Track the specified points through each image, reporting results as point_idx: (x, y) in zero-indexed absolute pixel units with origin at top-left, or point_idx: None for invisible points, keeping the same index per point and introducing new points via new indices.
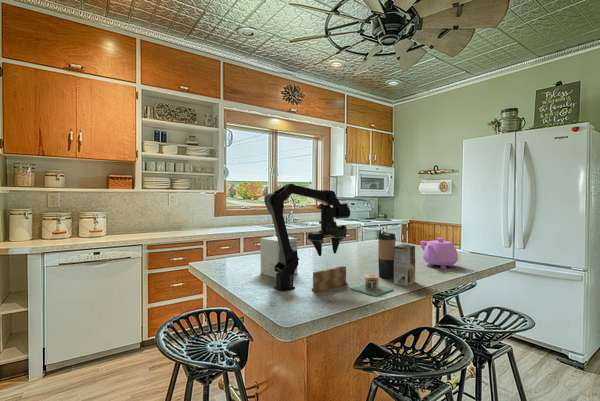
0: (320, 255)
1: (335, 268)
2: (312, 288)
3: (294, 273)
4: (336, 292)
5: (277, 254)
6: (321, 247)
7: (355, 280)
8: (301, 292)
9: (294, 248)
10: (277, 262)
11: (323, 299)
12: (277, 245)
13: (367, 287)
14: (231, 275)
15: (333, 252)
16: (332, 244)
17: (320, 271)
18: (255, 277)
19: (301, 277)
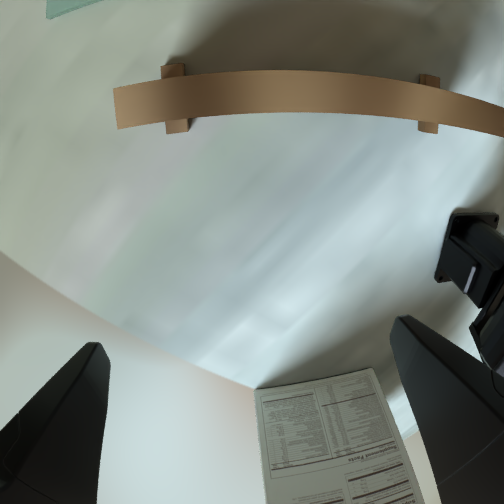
0: (412, 318)
1: (298, 81)
2: (435, 130)
3: (275, 389)
4: (357, 4)
5: (407, 454)
6: (485, 392)
7: (54, 126)
8: (472, 149)
9: (292, 500)
10: (395, 423)
11: (467, 9)
12: (420, 491)
13: None
14: (413, 419)
15: (109, 372)
16: (92, 480)
17: (475, 116)
18: (399, 395)
19: (286, 344)
